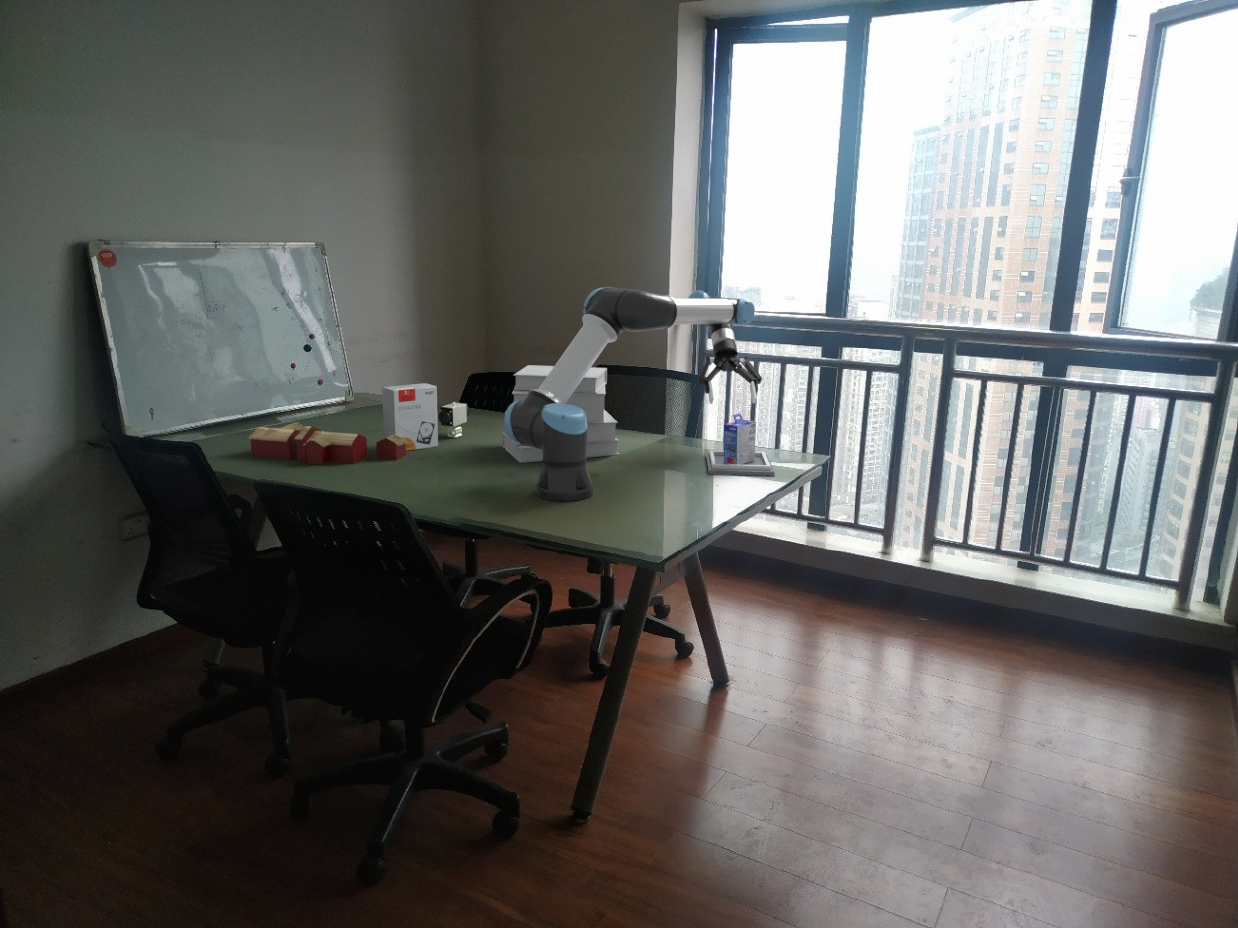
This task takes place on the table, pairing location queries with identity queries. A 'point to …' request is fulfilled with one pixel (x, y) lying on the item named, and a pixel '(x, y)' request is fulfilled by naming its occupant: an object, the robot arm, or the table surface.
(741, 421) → the ink cartridge box
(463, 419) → the pneumatic valve
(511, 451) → the book stack
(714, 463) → the dock board
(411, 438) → the hard drive box
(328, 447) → the toy houses
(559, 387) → the robot arm
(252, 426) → the table surface
